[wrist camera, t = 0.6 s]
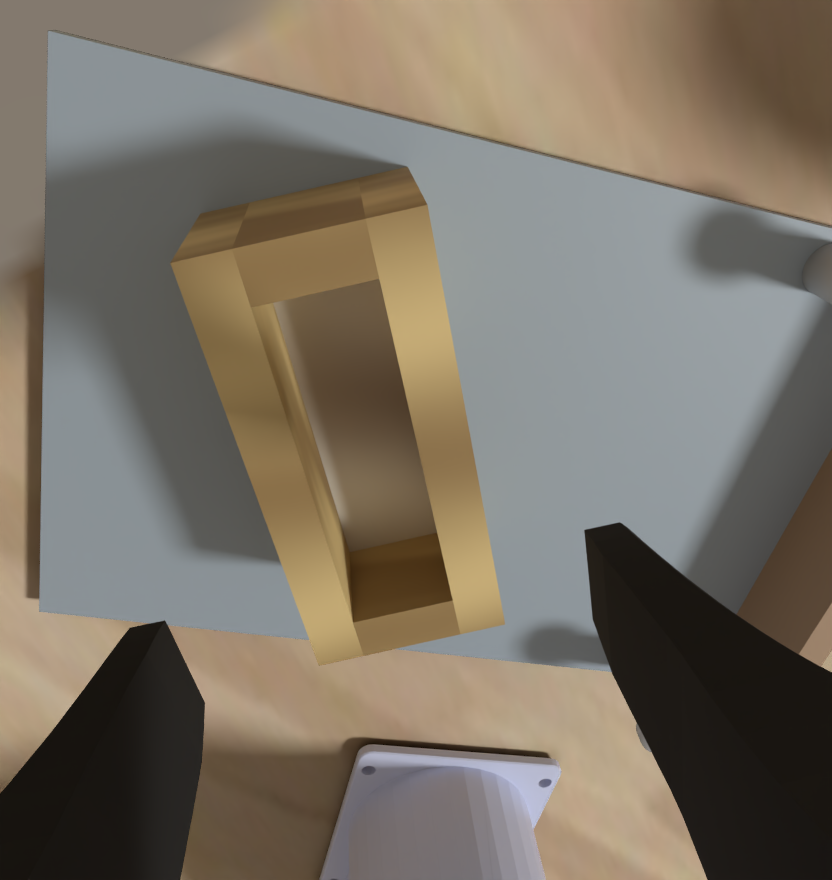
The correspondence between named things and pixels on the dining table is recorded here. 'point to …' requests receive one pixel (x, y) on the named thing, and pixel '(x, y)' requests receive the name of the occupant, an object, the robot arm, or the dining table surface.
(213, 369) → the frame
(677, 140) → the dining table surface
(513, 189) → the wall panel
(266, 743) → the dining table surface
